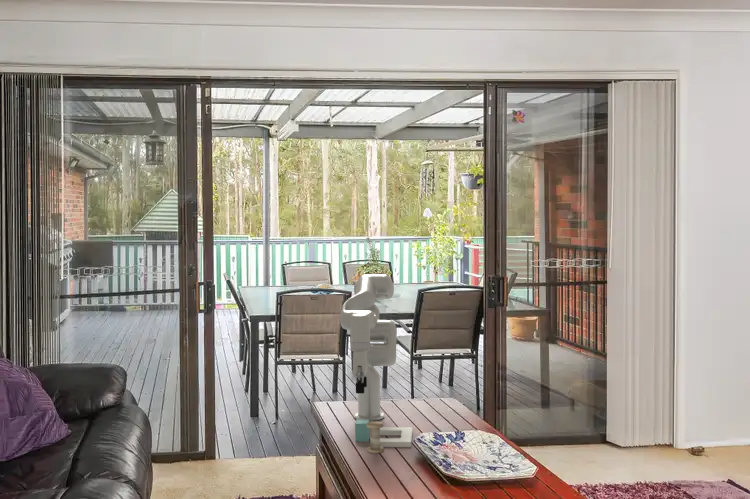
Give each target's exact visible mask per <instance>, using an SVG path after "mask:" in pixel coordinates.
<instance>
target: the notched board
mask: <svg viewBox="0 0 750 499" xmlns="http://www.w3.org/2000/svg"><path fill="white" fill-rule="evenodd" d="M413 432H414V430H413V427H412V426H411V427H410V426H405V427H403V426H392V427H391V426H388V427H387V426H383V427H381V428H380V436H400V437H399V438H393V437H392V438H390V437H389V438H388V437H387V438H384V437H382V438H381V437H380V446H381V447H383V448H412V441H413Z"/></svg>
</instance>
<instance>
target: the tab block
mask: <svg viewBox="0 0 750 499" xmlns="http://www.w3.org/2000/svg"><path fill="white" fill-rule="evenodd" d="M368 422H370V421H369V420H358V419H355V422H354V427H355V428H354V437H355V438H354V439H355V442H369V441H370V428H368V427H367V423H368Z"/></svg>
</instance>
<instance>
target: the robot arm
mask: <svg viewBox="0 0 750 499" xmlns="http://www.w3.org/2000/svg"><path fill="white" fill-rule="evenodd" d="M353 292H354V293H353V294H354V295H353V296H351V297H349V298H348V299H346V300H345V301H344V303H343V304H342V307H341V312H340V315H339V316H340V317H339V319H340V320H339V323H340V327H341V328H342V329H344V330H345V331H346V330H347V331H350V351H351V352H352V377H353V378H355V393H356V394H357V412H356V413H354V418H355V420H369V422H374V421H376V422H377V421H379V420H382V419H383V418H385V413H384V412H383V411H381V376H380V373H379V372H378V370H377V369H376V367H390V366H394V365H395V364H396V361H397V326H396V323H395V322H394V321H392V320H389V319H380V309H379V308H378V306H377V305H376V304H375V303H376V300H379V299H380V300H385V299H386V300H388V299H391V298H392V297H393V296H394V292H395V286H394V282H393V280H392V277H391V276H389V275H388V274H384V273H380V274H379V273H377V274H376V273H375V274H374V273H373V274H372V273H370V274H369V273H367V274H366V273H365V274H362V275H360V277H358V279H357V281H356V282H355V283H354V286H353Z"/></svg>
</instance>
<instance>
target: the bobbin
mask: <svg viewBox="0 0 750 499" xmlns="http://www.w3.org/2000/svg"><path fill="white" fill-rule="evenodd" d="M367 427H368V428H369V434H370V438H369V441H370V442H369V443H370V445H369V446H368V447H367V448H366V452H368V453H370V454H380V453H383V452H384V447H381V446H380V438H381V435H380V428H381V427H384V423H383V422H381V421H377V420H376V421H369V422H368V423H367Z"/></svg>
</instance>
